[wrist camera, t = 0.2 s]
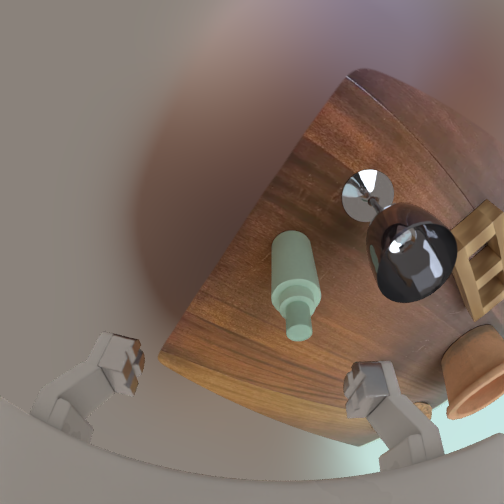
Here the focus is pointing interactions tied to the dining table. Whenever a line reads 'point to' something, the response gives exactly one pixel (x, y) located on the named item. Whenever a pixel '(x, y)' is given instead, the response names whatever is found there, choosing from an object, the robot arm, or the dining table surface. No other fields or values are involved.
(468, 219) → the hollow wooden block
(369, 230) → the wine glass
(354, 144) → the dining table surface
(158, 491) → the robot arm
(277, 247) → the bottle
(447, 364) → the pottery
